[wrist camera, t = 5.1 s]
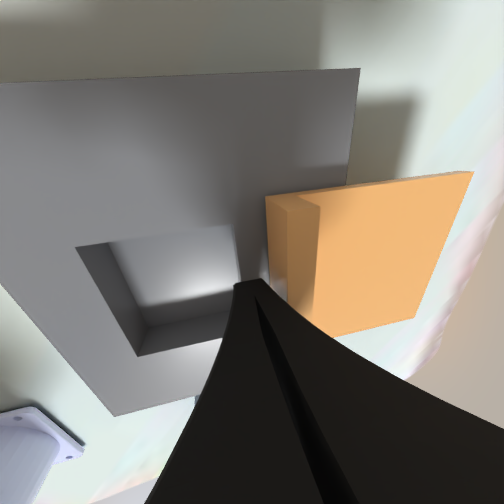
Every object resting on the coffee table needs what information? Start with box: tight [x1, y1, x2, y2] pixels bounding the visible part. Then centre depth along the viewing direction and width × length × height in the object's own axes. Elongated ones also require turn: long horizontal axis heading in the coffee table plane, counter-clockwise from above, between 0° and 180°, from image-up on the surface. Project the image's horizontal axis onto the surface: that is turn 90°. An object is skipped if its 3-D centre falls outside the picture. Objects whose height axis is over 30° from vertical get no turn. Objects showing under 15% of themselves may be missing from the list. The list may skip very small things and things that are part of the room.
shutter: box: [265, 171, 474, 338], centre depth 9 cm, size 9×8×2 cm
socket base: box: [0, 68, 360, 417], centre depth 10 cm, size 14×16×3 cm
